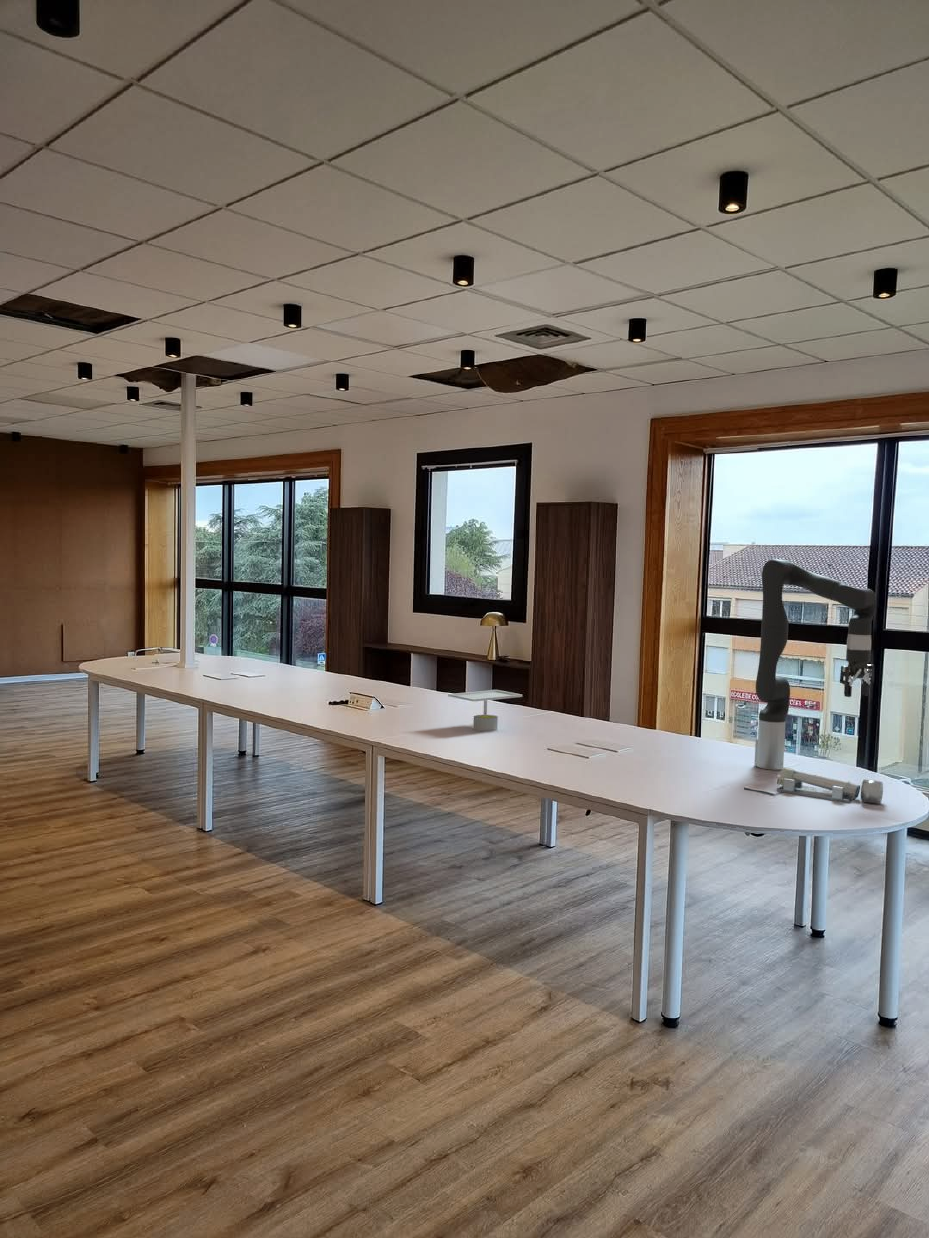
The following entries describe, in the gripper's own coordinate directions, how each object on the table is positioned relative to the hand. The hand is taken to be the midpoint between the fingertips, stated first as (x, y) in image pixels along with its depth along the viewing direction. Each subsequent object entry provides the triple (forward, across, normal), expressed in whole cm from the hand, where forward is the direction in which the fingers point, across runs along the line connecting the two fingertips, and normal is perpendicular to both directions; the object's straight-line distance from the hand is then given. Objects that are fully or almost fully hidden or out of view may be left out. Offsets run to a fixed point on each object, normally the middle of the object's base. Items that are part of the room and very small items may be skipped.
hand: (856, 696), depth 308 cm
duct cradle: (+30, +20, +8) cm, 37 cm away
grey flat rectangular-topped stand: (+30, +65, -134) cm, 152 cm away
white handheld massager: (+30, +22, +4) cm, 37 cm away
